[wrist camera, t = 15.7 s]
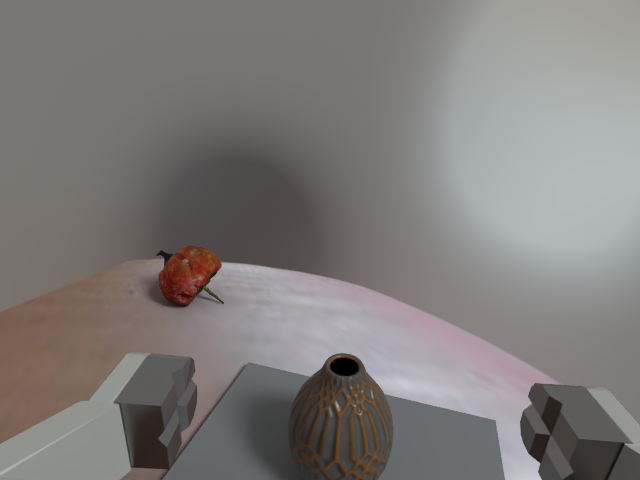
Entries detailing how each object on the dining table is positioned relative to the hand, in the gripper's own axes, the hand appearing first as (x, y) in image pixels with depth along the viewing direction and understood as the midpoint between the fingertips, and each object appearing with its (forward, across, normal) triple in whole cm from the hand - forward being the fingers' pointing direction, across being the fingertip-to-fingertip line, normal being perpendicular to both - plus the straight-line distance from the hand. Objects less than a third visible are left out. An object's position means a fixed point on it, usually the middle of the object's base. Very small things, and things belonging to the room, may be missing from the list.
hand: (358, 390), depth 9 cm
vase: (+12, -1, +18) cm, 21 cm away
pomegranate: (+34, +18, +19) cm, 43 cm away
